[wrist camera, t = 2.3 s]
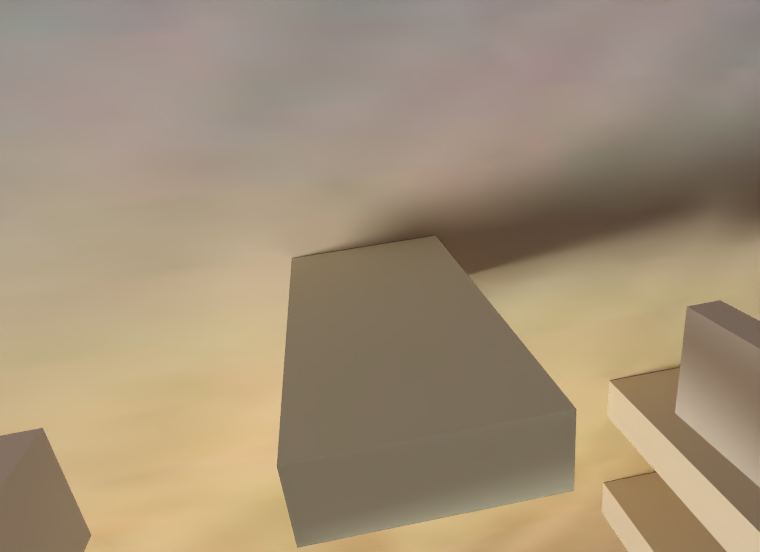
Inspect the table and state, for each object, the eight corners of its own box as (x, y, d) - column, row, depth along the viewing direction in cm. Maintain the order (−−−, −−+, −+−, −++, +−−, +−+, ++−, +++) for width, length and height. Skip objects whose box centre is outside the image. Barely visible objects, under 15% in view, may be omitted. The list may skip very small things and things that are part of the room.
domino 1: (291, 258, 17) (276, 466, 8) (435, 235, 18) (576, 409, 9) (301, 306, 18) (297, 547, 9) (439, 282, 18) (573, 490, 9)
